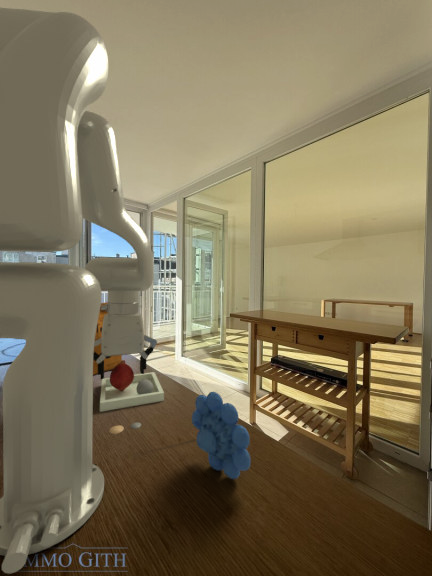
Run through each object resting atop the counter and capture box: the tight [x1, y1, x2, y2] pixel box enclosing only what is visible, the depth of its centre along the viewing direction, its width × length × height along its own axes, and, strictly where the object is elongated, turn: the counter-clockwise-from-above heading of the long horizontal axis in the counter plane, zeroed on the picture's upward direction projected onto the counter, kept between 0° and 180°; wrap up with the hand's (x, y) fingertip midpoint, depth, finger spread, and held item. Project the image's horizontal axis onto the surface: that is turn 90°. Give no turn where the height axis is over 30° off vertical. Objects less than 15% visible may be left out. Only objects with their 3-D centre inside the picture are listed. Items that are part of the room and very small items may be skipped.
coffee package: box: [93, 301, 123, 376], centre depth 78 cm, size 10×12×22 cm
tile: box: [108, 422, 142, 435], centre depth 48 cm, size 6×8×1 cm
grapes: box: [191, 391, 252, 480], centre depth 38 cm, size 12×7×12 cm, turn 49°
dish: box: [99, 371, 165, 413], centre depth 62 cm, size 14×14×2 cm
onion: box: [109, 359, 135, 391], centre depth 63 cm, size 6×6×8 cm
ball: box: [136, 379, 153, 395], centre depth 61 cm, size 4×4×4 cm
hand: (122, 374), depth 63 cm, fingers open, 9 cm apart
